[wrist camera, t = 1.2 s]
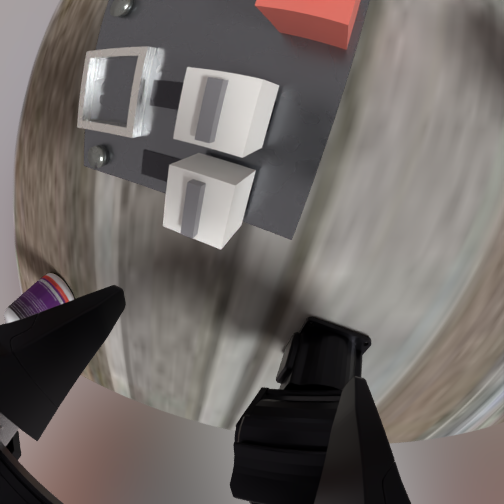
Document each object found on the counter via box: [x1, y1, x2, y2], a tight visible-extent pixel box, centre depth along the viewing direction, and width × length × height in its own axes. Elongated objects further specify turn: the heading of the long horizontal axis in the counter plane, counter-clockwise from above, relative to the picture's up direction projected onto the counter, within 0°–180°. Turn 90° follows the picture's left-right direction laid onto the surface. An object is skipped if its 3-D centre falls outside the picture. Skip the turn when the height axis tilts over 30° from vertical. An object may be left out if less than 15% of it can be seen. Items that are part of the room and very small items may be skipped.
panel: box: [77, 0, 370, 240], centre depth 14 cm, size 20×20×2 cm
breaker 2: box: [163, 153, 256, 249], centre depth 16 cm, size 4×4×4 cm
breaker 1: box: [173, 67, 279, 158], centre depth 13 cm, size 4×4×4 cm
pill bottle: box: [4, 273, 74, 324], centre depth 31 cm, size 8×8×14 cm
